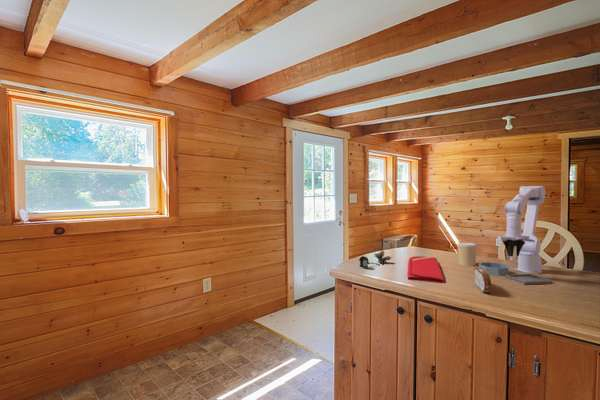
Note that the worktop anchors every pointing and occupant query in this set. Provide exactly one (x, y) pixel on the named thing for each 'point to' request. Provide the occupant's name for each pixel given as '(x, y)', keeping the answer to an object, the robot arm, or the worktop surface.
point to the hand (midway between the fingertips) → (513, 255)
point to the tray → (528, 279)
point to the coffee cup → (467, 253)
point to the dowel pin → (514, 255)
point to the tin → (483, 280)
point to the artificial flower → (365, 262)
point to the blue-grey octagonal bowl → (495, 268)
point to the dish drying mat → (424, 269)
